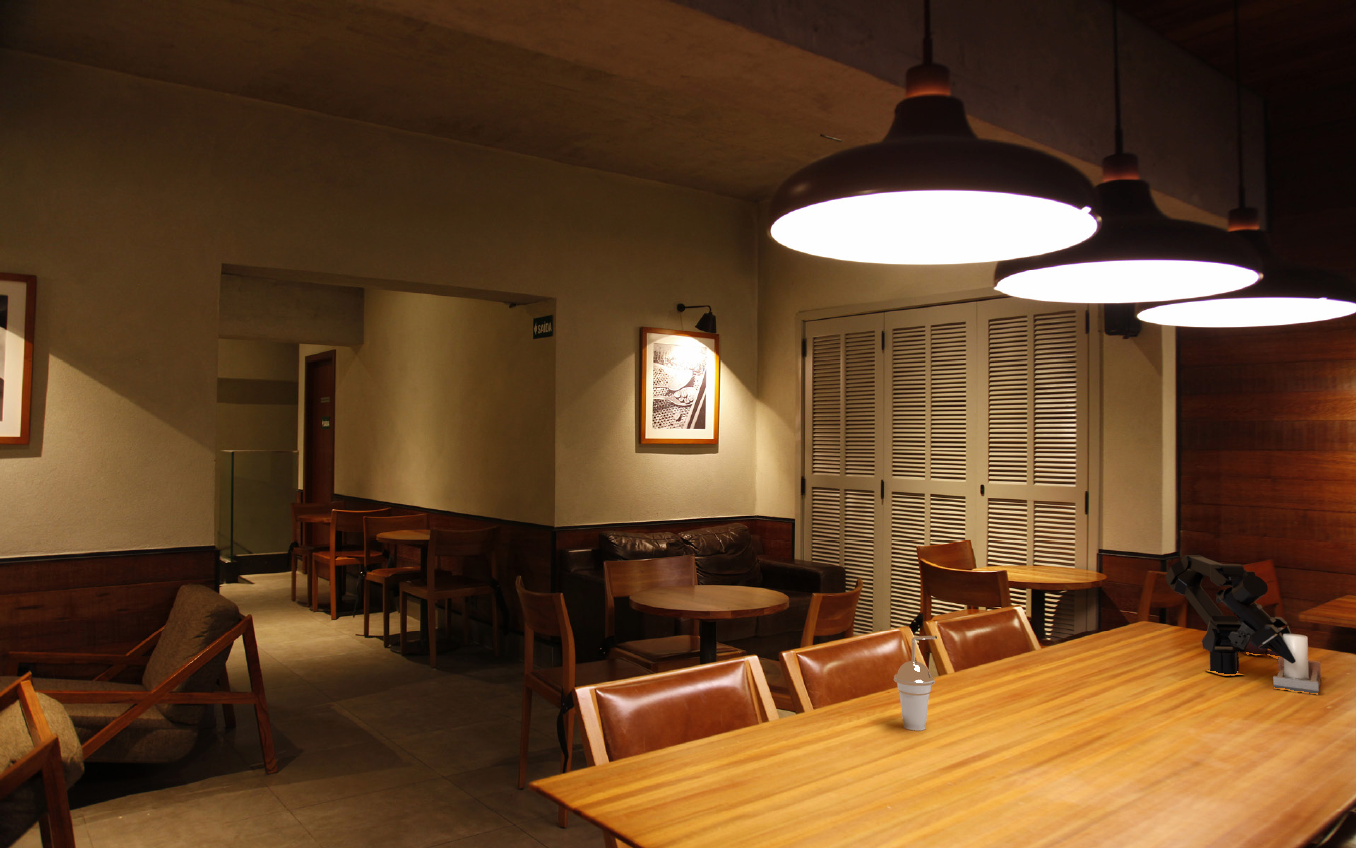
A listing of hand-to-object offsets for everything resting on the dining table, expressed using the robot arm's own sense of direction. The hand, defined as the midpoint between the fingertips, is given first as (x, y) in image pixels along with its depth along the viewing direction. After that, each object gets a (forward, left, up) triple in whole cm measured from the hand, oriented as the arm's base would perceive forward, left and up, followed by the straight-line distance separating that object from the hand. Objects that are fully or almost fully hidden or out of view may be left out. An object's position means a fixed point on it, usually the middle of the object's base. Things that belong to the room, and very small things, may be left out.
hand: (1296, 659), depth 216 cm
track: (+5, +4, -7) cm, 10 cm away
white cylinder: (0, 0, -6) cm, 6 cm away
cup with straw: (-110, -2, -8) cm, 110 cm away
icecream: (+24, +32, -8) cm, 41 cm away
